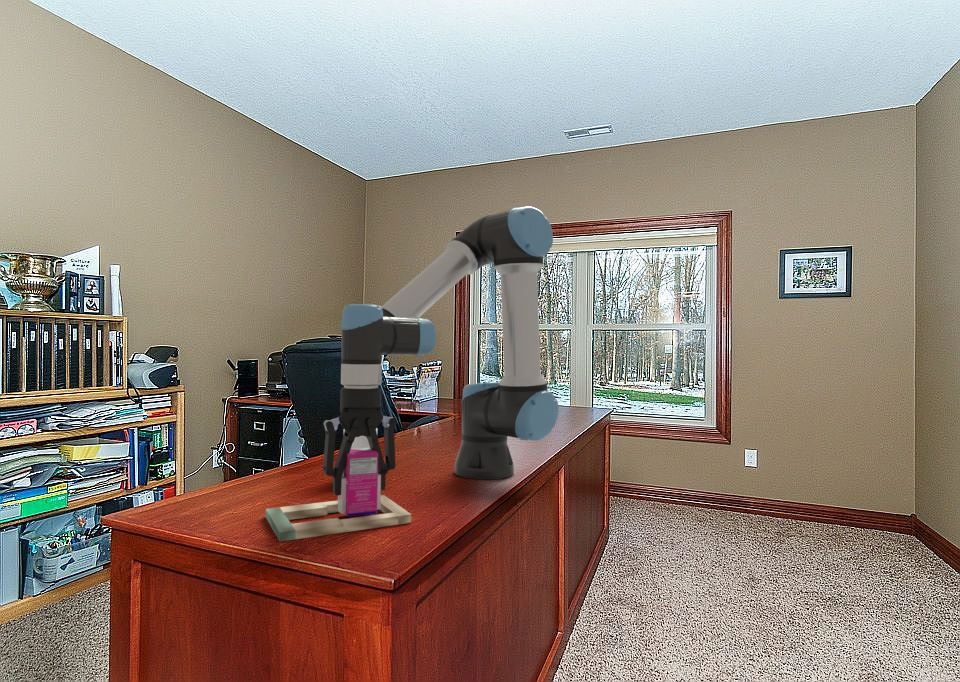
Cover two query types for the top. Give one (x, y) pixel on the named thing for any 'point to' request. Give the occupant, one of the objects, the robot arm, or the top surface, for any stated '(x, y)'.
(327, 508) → the cream and green frame
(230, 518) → the top surface
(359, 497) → the supplement box
